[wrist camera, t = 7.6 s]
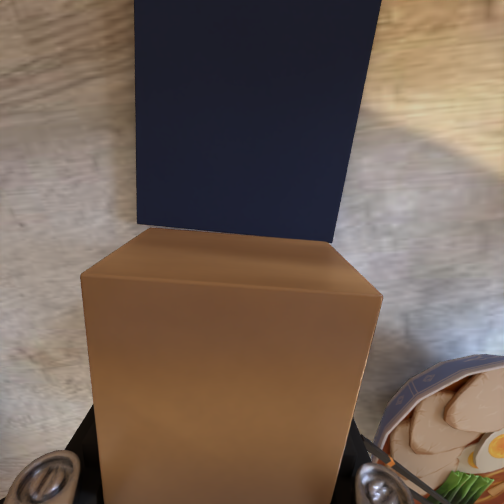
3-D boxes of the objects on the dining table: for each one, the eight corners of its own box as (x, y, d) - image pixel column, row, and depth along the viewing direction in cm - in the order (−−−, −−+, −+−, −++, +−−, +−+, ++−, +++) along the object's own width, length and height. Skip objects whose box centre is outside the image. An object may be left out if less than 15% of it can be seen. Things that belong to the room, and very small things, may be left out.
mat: (137, -54, 20) (132, -63, 19) (380, -14, 21) (386, -21, 20) (139, 222, 26) (136, 223, 25) (329, 241, 27) (332, 243, 26)
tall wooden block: (165, 216, 9) (78, 274, 4) (314, 228, 9) (385, 295, 5) (166, 474, 13) (119, 659, 8) (274, 478, 13) (291, 660, 8)
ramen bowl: (575, 396, 34) (675, 465, 26) (425, 496, 38) (471, 581, 31) (458, 267, 28) (541, 307, 20) (298, 403, 33) (315, 477, 25)
